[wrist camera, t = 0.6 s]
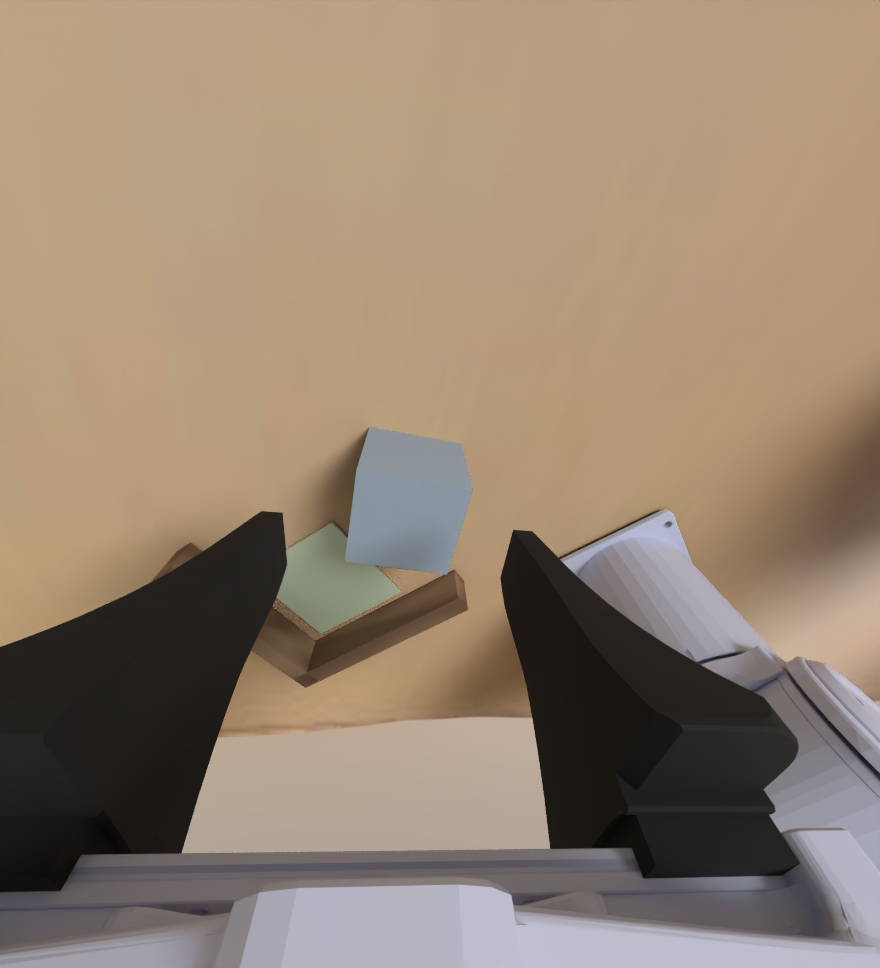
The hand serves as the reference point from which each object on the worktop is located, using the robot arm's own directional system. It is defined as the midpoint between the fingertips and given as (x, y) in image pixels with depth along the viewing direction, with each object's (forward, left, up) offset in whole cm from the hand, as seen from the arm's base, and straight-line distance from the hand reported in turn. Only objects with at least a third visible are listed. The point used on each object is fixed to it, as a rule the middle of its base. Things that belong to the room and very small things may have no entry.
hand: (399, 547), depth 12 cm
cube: (-2, +1, -10) cm, 10 cm away
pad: (-6, +10, -9) cm, 15 cm away
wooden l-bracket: (-5, +9, -9) cm, 14 cm away
